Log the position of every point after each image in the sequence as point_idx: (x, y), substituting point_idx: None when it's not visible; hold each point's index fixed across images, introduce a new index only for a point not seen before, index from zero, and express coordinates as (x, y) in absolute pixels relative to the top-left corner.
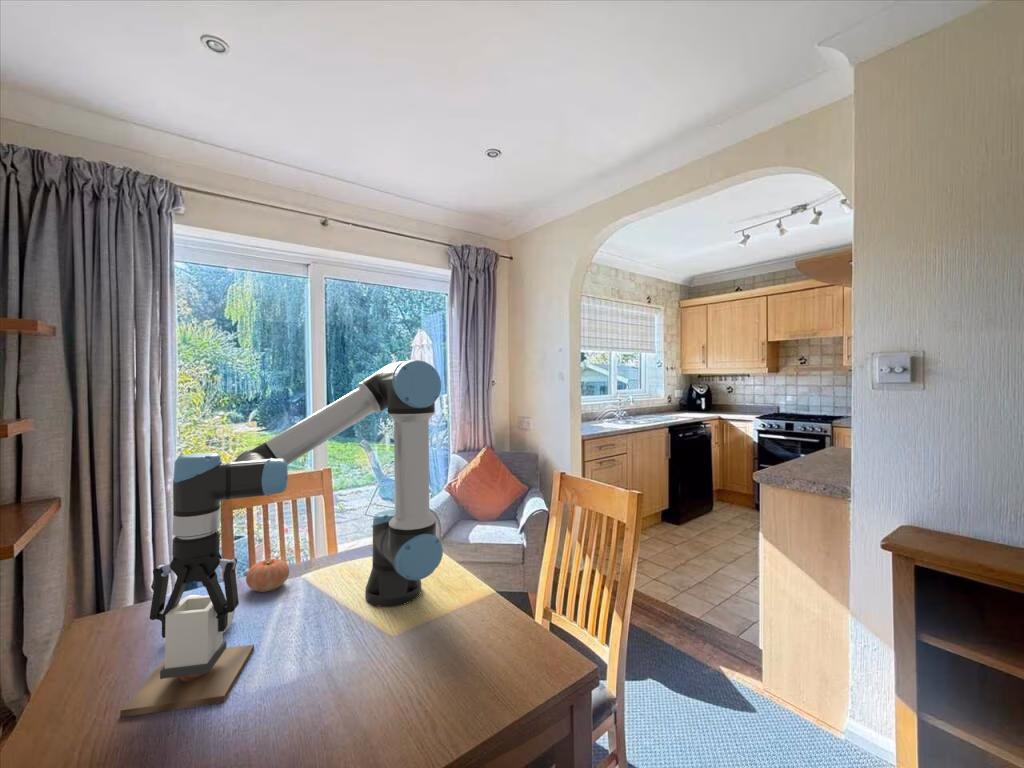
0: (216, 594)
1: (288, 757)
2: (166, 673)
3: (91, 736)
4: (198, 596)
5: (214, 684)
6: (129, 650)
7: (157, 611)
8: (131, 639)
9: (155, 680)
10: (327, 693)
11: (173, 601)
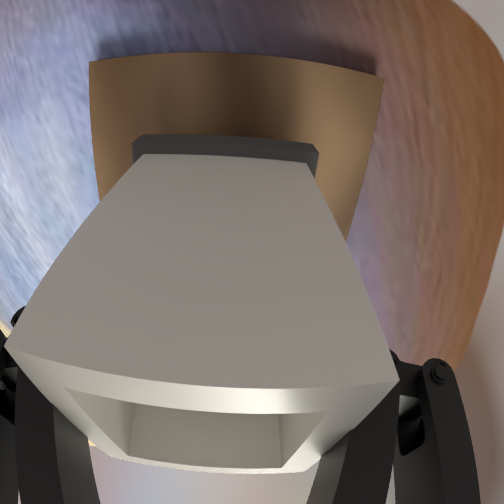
0: (17, 467)
1: None
2: (293, 146)
3: (412, 31)
4: (229, 472)
5: (136, 119)
6: (401, 331)
7: (431, 407)
8: (398, 355)
9: (333, 194)
10: None
11: (352, 487)
